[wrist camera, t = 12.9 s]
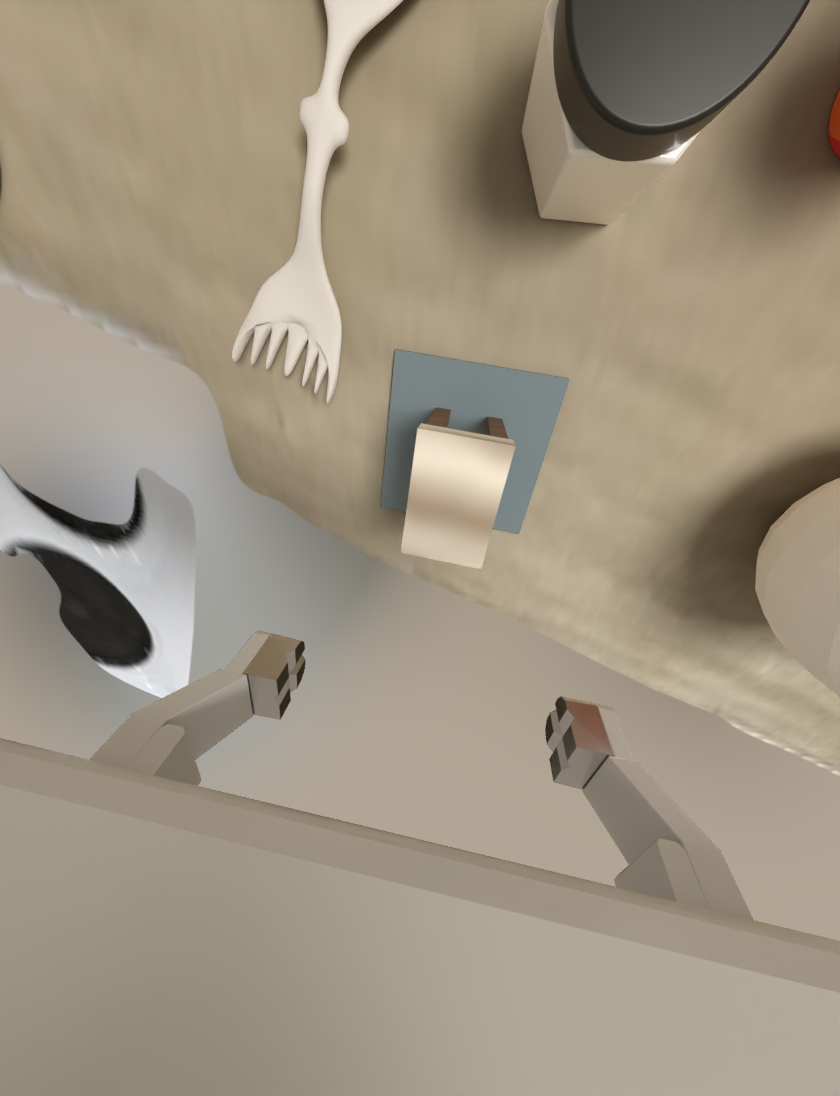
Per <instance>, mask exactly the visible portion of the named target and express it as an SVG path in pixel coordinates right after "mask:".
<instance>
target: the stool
mask: <svg viewBox="0 0 840 1096" xmlns="http://www.w3.org/2000/svg"><path fill="white" fill-rule="evenodd" d="M450 413H451V410H449V409H444V408H438V407H437V408H436V410H435V411H434V413H433V414H432V416H431V417H430V419H429V420H428V422H427V423H426V424H423V423H421V424H420V426H419V427H418V428H417V436H416V443H415V451H414V458H413V465H412V473H411V480H410V487H409V495H408V502H407V509H406V517H405V524H404V531H403V539H402V546H401V553H404V554H409V555H414V556H419V557H424V558H429V559H433V560H438V561H443V562H448V563H453V564H458V565H463V566H468V567H473V568H478V569H481V567H482V564H483V560H484V557H485V553H486V550H487V546H488V543H489V539H490V536H491V532H492V528H493V525H494V521H495V518H496V514H497V511H498V507H499V504H500V500H501V497H502V493H503V489H504V486H505V482H506V479H507V475H508V472H509V468H510V465H511V461H512V458H513V454H514V451H515V447H516V445H515V443H514V440H511V439H508V436H507V433H506V429H505V426H504V423H503V420H502V419H500V418H494V417H489V416H488V420H487V424H486V428H485V435H484V434H478V433H473V432H467V431H461V430H456V429H450V428H447V427H448V424H449V418H450Z"/></svg>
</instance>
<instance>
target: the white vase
mask: <svg viewBox="0 0 840 1096" xmlns="http://www.w3.org/2000/svg"><path fill="white" fill-rule="evenodd" d="M755 591H756V594H757V596H758V599H759V602H760V605H761V608H762V611H763V613H764V615H765V617H766V619H767V621H768V623H769V625H770V627H771V629H772V631H773V633H774V635H775V636H776V637H777V639H778V640H779V641H780V642H781V643H782V644H783V645H784V646H785V647H786V648H787V650H788V651H789V652H790V653H791V654H792V655H793V656H794V657H795V658H796V659H797V661H798V662H799V663H800V664H801V665H802V666H803V667H805V668H806V669H807V670H808V671H809V672H810V673H811V674H812V675H813V676H814V677H815V678H817V679H818V680H819V681H820V682H822V683H823V684H824V685H825V686H827V687H828V688H829V689H830V690H832V691H833V692H834V693H835V694H837V695H838V696H839V697H840V478H838V479H836V480H833V481H831V482H828V483H826V484H823V485H822V486H820V487H819V488H817V489H815V490H814V491H812V492H811V493H809V494H807V495H806V496H804V497H803V498H801V499H800V500H798V501H796V502H795V503H793V504H792V505H791V506H790V507H789V508H788V509H787V510H786V511H785V512H784V513H783V514H782V515H781V516H780V518H779V519H778V520H777V521H776V522H775V523H774V524H773V525H772V526H771V527H770V529H769V531H768V533H767V535H766V537H765V538H764V540H763V542H762V544H761V546H760V548H759V550H758V557H757V565H756V584H755Z"/></svg>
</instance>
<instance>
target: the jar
mask: <svg viewBox="0 0 840 1096" xmlns="http://www.w3.org/2000/svg"><path fill="white" fill-rule="evenodd" d="M809 1H810V0H550V1H549V3H548V5H547V7H546V9H545V13H544V18H543V23H542V29H541V34H540V39H539V44H538V49H537V54H536V59H535V64H534V69H533V75H532V80H531V85H530V90H529V95H528V100H527V105H526V110H525V115H524V120H523V126H522V137H523V141H524V146H525V150H526V155H527V159H528V164H529V169H530V173H531V178H532V182H533V187H534V192H535V196H536V201H537V206H538V210H539V215H540V217H541V218H544V219H555V220H565V221H575V222H585V223H595V224H605V225H608V224H610V223H611V222H612V221H614V220H615V219H616V218H617V217H618V216H619V215H620V214H621V213H622V212H623V211H624V210H625V209H626V208H628V207H629V206H630V205H631V204H632V203H633V202H634V201H635V200H636V199H637V198H638V197H639V196H640V195H642V194H643V193H644V192H645V191H646V190H647V189H648V188H649V187H650V186H651V185H652V184H653V183H654V182H655V181H657V180H658V179H659V178H660V177H661V176H662V175H663V174H664V173H665V172H666V171H667V170H668V169H669V168H671V167H672V166H673V165H674V164H675V163H676V162H677V161H678V159H679V158H680V157H681V156H682V154H683V153H684V152H685V151H686V149H687V148H688V147H689V145H690V144H691V143H692V142H693V140H694V139H695V138H696V137H697V135H698V134H699V133H700V132H701V130H702V129H703V128H704V127H705V126H706V125H707V124H708V123H710V122H711V121H712V120H713V119H714V118H715V117H716V116H717V115H718V114H719V113H720V112H721V111H722V110H723V109H724V108H725V107H726V106H727V105H728V104H729V103H730V102H731V101H732V100H733V99H734V98H736V97H737V96H738V95H739V94H740V93H741V92H742V91H743V90H744V89H745V88H746V87H747V86H748V85H749V84H750V83H751V82H752V81H753V80H754V79H755V78H756V77H757V75H758V74H759V73H760V72H761V71H762V70H763V69H764V68H765V66H766V65H767V64H768V63H769V61H770V60H771V59H772V58H773V57H774V55H775V54H776V53H777V51H778V50H779V49H780V47H781V46H782V45H783V43H784V42H785V40H786V39H787V37H788V36H789V34H790V33H791V31H792V30H793V28H794V27H795V25H796V23H797V22H798V20H799V19H800V17H801V15H802V14H803V12H804V10H805V8H806V7H807V5H808V3H809Z"/></svg>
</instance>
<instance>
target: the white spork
mask: <svg viewBox="0 0 840 1096" xmlns="http://www.w3.org/2000/svg"><path fill="white" fill-rule="evenodd" d="M323 1H324V5H325V10H326V15H327V23H328V39H327V52H326V59H325V66H324V72H323V76H322V80H321V84H320V87H319V89H318V91H317V93H315V94H314V95H313V96H310V97H306V98H304V99H303V100H302V102H301V106H300V122H301V124H302V126H303V127H304V129H305V131H306V135H307V146H308V147H307V160H306V169H305V176H304V184H303V193H302V202H301V212H300V222H299V231H298V237H297V242H296V246H295V250H294V252H293V255H292V257H291V258H290V259H289V261H288V262H287V263H286V264H285V265H284V266H283V267H282V268H281V269H279V270H278V271H277V272H276V273H274V274H273V275H272V276H270V277H269V278H268V279H267V280H266V281H265V282H264V283H263V284H262V286H261V287H260V288H259V290H258V292H257V294H256V296H255V298H254V300H253V302H252V305H251V307H250V309H249V311H248V313H247V315H246V318H245V320H244V322H243V324H242V326H241V328H240V330H239V332H238V335H237V337H236V340H235V342H234V346H233V349H232V360H233V362H235V363H236V362H237V361H238V360H239V359H240V357H241V355H242V353H243V351H244V349H245V347H246V345H247V343H248V341H249V339H250V337H251V336H252V334H253V333H254V340H253V346H252V353H251V365H253V364H254V363H255V362H256V360H257V358H258V356H259V354H260V352H261V350H262V348H263V346H264V343H265V341H266V339H267V338H268V336H269V334H270V332H271V330H272V332H271V338H270V344H269V349H268V354H267V359H266V370H268V369H269V368H270V366H271V364H272V362H273V360H274V358H275V356H276V354H277V352H278V349H279V347H280V345H281V343H282V341H283V339H284V337H285V335H286V333H287V331H288V341H287V349H286V355H285V363H284V374H285V376H286V377H287V376H289V374H290V373H291V372H292V370H293V369H294V367H295V365H296V363H297V361H298V359H299V357H300V355H301V353H302V351H303V349H304V347H305V345H306V343H307V341H308V350H307V357H306V362H305V368H304V373H303V380H302V386H304V385H305V384H306V382H307V380H308V378H309V376H310V373H311V371H312V368H313V366H314V363H315V361H316V359H317V356H318V354H319V358H318V368H317V374H316V381H315V388H314V393H315V394H316V393H317V391H318V389H319V387H320V385H321V383H322V380H323V378H324V376H325V373H326V371H327V369H328V372H329V373H328V387H327V395H326V402H327V404H329V403H330V401H331V400H332V398H333V395H334V393H335V389H336V385H337V379H338V372H339V364H340V353H341V342H342V323H341V316H340V312H339V308H338V305H337V302H336V299H335V296H334V293H333V291H332V288H331V285H330V282H329V279H328V276H327V272H326V268H325V264H324V258H323V251H322V240H321V209H322V199H323V190H324V185H325V180H326V175H327V171H328V167H329V163H330V159H331V157H332V155H333V153H334V151H335V150H336V149H337V148H338V147H339V146H341V145H343V144H345V142H346V140H347V137H348V133H349V121H348V119H347V117H346V116H345V115H344V113H343V112H342V111H341V109H340V107H339V101H338V97H339V89H340V83H341V80H342V76H343V73H344V70H345V67H346V64H347V62H348V60H349V58H350V56H351V54H352V52H353V50H354V49H355V47H356V46H357V44H358V43H359V42H360V41H361V39H362V38H363V37H364V36H365V35H366V34H367V33H368V32H369V31H370V30H371V29H373V28H374V27H375V26H376V25H377V24H378V23H379V22H381V21H382V20H383V19H384V18H385V17H386V16H387V15H388V14H390V13H391V12H392V11H393V10H394V9H395V8H396V7H397V6H398V5H399V4H400V3H401V2H402V1H403V0H323Z"/></svg>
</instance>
